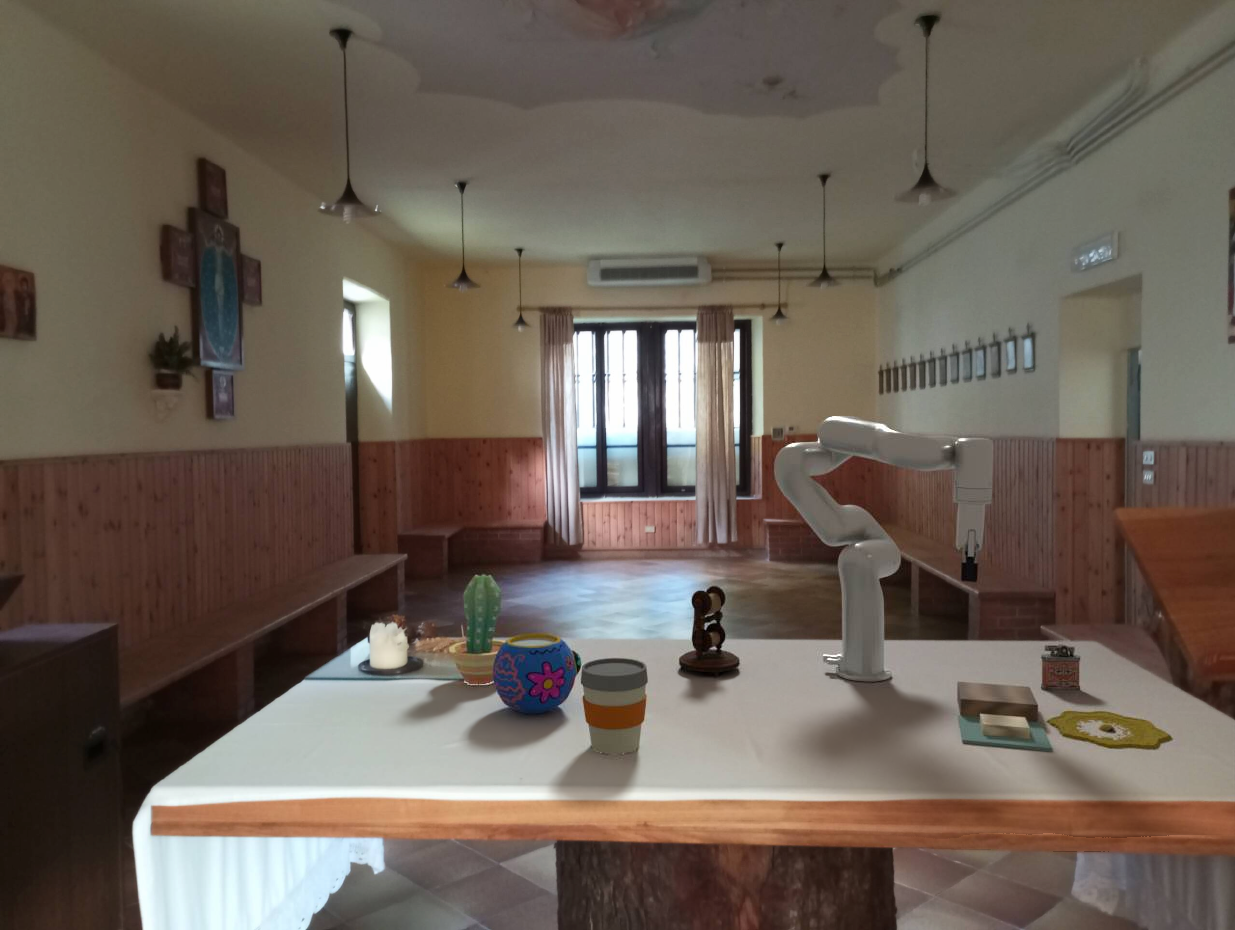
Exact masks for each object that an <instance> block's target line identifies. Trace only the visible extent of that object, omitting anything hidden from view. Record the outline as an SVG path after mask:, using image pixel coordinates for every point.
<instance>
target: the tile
mask: <svg viewBox="0 0 1235 930" xmlns="http://www.w3.org/2000/svg"><path fill="white" fill-rule="evenodd" d="M980 726H981V729H982V733H983V735H993V736H1005V737H1016V738H1028V739H1030V727H1029V725H1028V723H1027V721H1026V718H1025V717H1014V716H1001V715H989V714H980Z"/></svg>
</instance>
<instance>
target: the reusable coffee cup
mask: <svg viewBox="0 0 1235 930" xmlns="http://www.w3.org/2000/svg"><path fill="white" fill-rule="evenodd" d="M580 676H581V677H580V684H581V686H582V691H583V696H582V697H581V698H582V704H583V711H584V712H583V713H584V717H585V719H584V720H585V722H586V724H587V725H588V730H589V731H588V732H589V736H590V737H589V739H590V744H591V748H593V749H594V750H595V751H594V750H593V749H592V750H593V751H594V752H596V751H598V752H601V753H605V754H604V755H606V754H622V755H624V754H623V753H628V752H631V753H633V752H632V751H634V750H636V749H637V748H638V747H639V748H640V742H641V734H642V733H641V731H642V724H643V723H644V722H645V718H646V717H645V716H646V705H647V697H648V696H647V694H646V685H647V684H648V683H649V677H648V669H647V665H646V663H644V662H643V661H641V660H637V659H632V658H625V657H610V658H608V657H607V658H599V659H594V660H591V661H588V662H585V663H584V664H583V665H581V674H580ZM639 748H638V749H639ZM638 749H637V750H638ZM637 750H636V751H637ZM598 752H597V753H598ZM634 752H635V751H634ZM601 753H600V754H601ZM628 754H629V753H628Z"/></svg>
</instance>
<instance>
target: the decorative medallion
mask: <svg viewBox="0 0 1235 930" xmlns="http://www.w3.org/2000/svg"><path fill="white" fill-rule="evenodd" d="M1092 721H1094V723H1099V722H1100V721H1101V723H1100V724H1099V725H1100V726H1099V727H1098V730H1099V731H1101V732H1103V733H1105V734H1104V735H1101V734H1099V735H1094V734H1092V735H1091V733H1090V731H1089V730H1091V728H1089V729H1088V731H1087V730H1084V725H1083V726H1082V725H1081V724H1083V723H1084V724H1087V723H1088V724H1091V723H1092ZM1082 722H1083V723H1082ZM1046 723H1047V724H1049V725H1050V726H1052V727H1054V728H1055V729H1056V730H1057V731H1058V733H1059V735H1061V737H1064V738H1067V739H1070V740H1071V739H1072V740H1079V741H1083V742H1088V743H1090V744H1094V745H1096V746H1098V747H1104V748H1107V749H1123V748H1124V749H1126V748H1128V749H1129V748H1131V749H1142V750H1156V749H1157V748H1159V747H1160V745H1161V743H1166V742H1170V741H1171V740H1173V737H1172V736H1171V734H1169V733H1168V732H1166V731H1165V730H1163V729H1160V728H1159V727H1156V726H1155V725H1154V723H1153V722H1151V721H1149V720H1147V719H1143V718H1136V717H1131V716H1125V715H1122V714H1118V713H1115V712H1112V711H1111V712H1110V711H1105V710H1097V711H1096V710H1094V711H1079V710H1064V711H1061V712H1060V715H1057V716H1054V717H1053V716H1052V717H1050V718H1048V719H1047V720H1046ZM1108 729H1110V732H1111V733H1116V732H1117V731H1116V729H1118V730H1121V731H1122V734H1119V733H1117V735H1115V736H1114V738H1117V739H1114V738H1113V736H1107V734H1106V733H1108ZM1111 730H1112V731H1111ZM1095 732H1096V733H1098V731H1095ZM1128 732H1129V733H1128Z"/></svg>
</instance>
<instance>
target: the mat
mask: <svg viewBox="0 0 1235 930" xmlns="http://www.w3.org/2000/svg"><path fill="white" fill-rule="evenodd" d="M957 720H958V724H959V725H958V726H959V729H960V730H959V731H960V734H961V735H960V737H961V741H962V744H970V745H980V746H992V747H1002V748H1012V749H1013V748H1014V749H1021V750H1022V749H1024V750H1032V751H1033V750H1034V751H1041V752H1042V751H1044V752H1045V751H1046V752H1053V746H1052V744H1051V741H1050V739H1049V737H1048V735H1047V733H1046V731H1045V729H1044V726H1043V724H1042V722H1041V721H1040V722H1039V721H1038V722H1032V721H1027V723H1028V725H1029V727H1030V739H1028V738H1016V737H1005V736H993V735H983V733H982V729H981V726H980V717H973V716H961V715H960V714H959V715H957Z"/></svg>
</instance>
